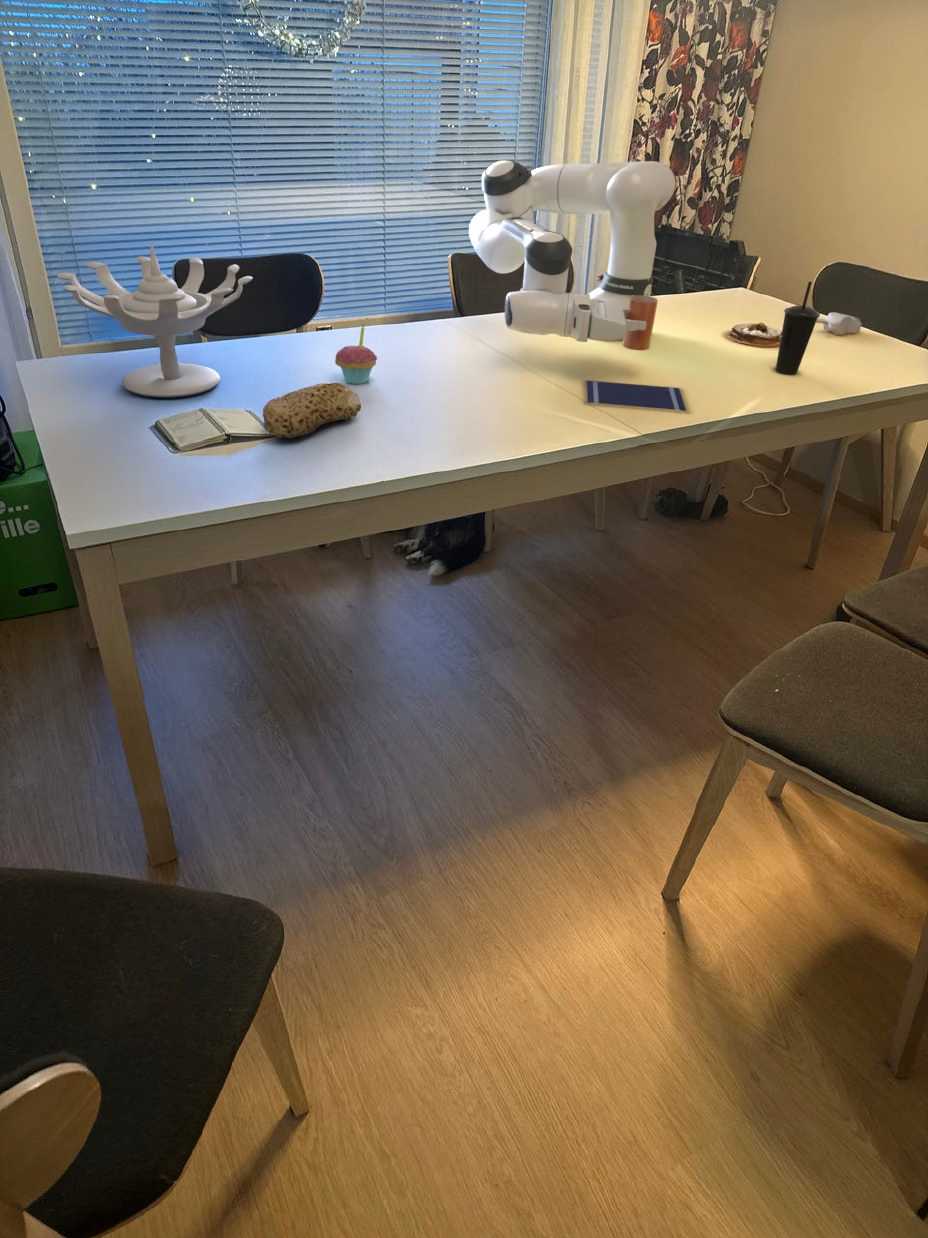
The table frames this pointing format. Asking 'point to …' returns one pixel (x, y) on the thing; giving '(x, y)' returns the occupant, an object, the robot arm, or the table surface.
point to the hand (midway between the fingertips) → (644, 320)
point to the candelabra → (161, 320)
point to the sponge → (309, 409)
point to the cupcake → (356, 362)
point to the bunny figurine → (840, 323)
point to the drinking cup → (795, 336)
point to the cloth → (634, 395)
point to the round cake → (755, 334)
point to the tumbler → (640, 310)
